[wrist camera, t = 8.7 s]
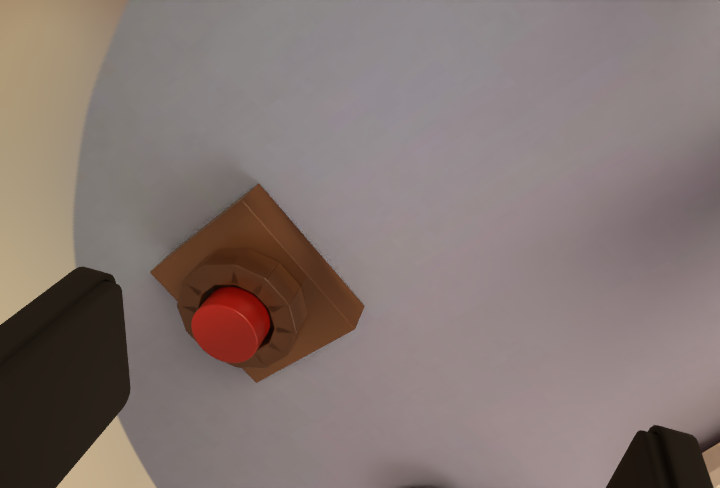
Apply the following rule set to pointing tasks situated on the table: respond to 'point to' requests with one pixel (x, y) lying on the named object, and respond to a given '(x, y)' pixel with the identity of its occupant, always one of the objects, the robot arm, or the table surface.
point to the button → (231, 324)
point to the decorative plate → (713, 464)
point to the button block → (263, 280)
